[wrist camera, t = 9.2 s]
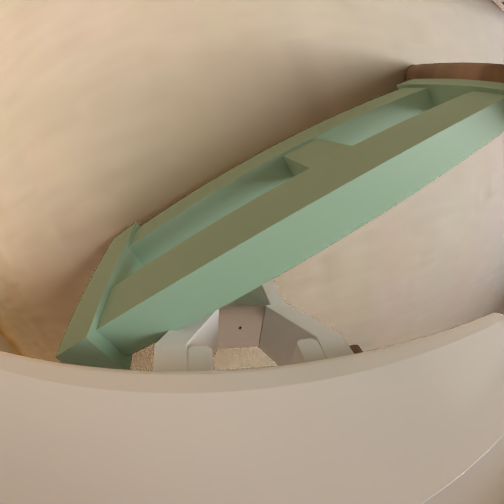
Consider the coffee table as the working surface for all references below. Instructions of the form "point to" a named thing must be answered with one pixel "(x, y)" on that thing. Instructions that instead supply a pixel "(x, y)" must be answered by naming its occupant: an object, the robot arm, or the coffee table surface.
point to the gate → (275, 214)
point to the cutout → (499, 4)
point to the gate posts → (452, 72)
